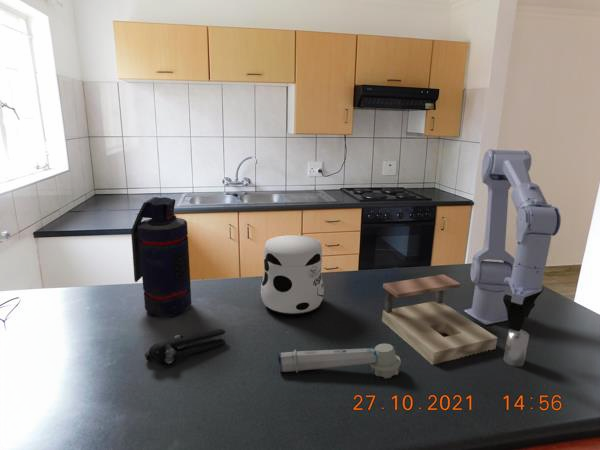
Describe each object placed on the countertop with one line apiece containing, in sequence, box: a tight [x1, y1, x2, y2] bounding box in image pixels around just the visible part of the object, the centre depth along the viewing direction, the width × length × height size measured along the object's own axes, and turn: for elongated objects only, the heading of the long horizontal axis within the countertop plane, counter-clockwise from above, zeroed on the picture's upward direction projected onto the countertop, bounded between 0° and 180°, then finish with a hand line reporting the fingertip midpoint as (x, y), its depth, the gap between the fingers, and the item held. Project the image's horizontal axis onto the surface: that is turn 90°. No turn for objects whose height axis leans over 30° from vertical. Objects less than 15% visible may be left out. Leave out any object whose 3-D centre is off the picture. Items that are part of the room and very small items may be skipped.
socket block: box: [381, 274, 498, 366], centre depth 99 cm, size 19×20×10 cm
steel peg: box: [502, 328, 530, 368], centre depth 90 cm, size 4×4×7 cm
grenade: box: [130, 196, 192, 318], centre depth 106 cm, size 14×12×30 cm
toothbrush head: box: [277, 343, 402, 379], centre depth 85 cm, size 5×7×25 cm
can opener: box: [144, 328, 226, 368], centre depth 90 cm, size 18×7×6 cm, turn 125°
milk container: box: [260, 234, 325, 316], centre depth 111 cm, size 17×17×18 cm
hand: (518, 322), depth 88 cm, fingers open, 7 cm apart
